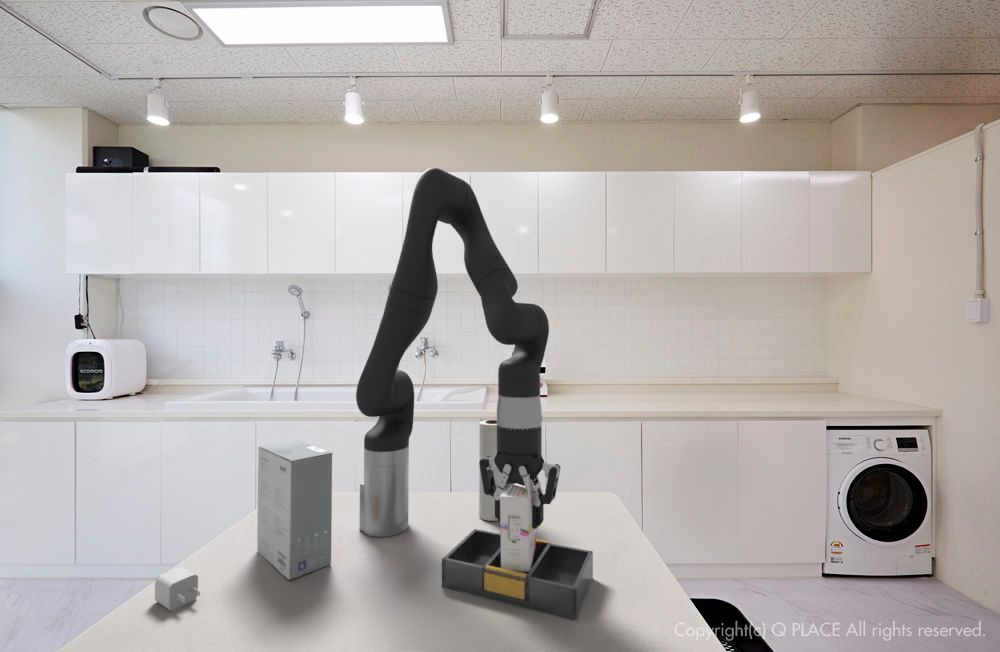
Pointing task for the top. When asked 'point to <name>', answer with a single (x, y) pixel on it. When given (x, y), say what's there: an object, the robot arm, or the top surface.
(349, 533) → the top surface
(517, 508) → the ink cartridge box
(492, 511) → the paper towel roll
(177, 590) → the usb wall charger
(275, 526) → the hard drive box
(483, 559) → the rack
